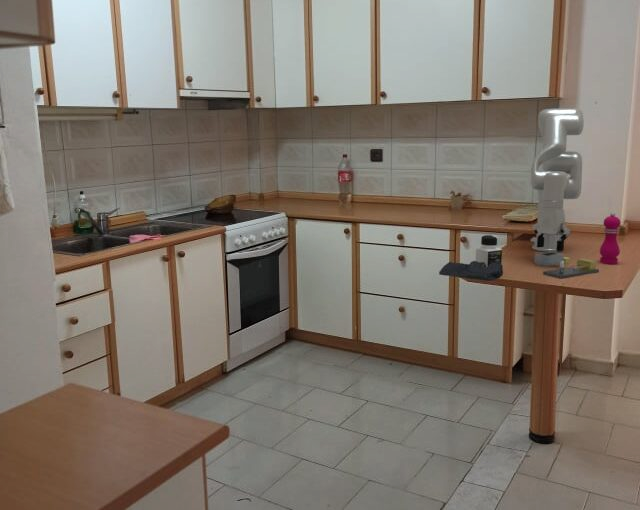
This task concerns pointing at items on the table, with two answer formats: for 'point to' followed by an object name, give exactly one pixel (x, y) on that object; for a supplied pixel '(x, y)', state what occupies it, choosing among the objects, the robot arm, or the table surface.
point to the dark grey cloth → (473, 270)
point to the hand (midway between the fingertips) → (549, 248)
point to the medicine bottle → (489, 251)
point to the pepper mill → (610, 240)
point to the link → (548, 258)
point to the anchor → (566, 260)
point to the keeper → (574, 269)
